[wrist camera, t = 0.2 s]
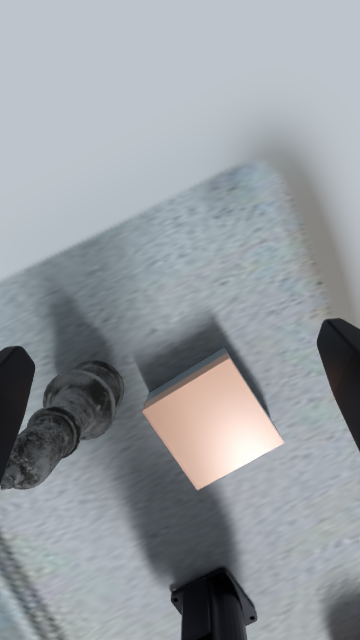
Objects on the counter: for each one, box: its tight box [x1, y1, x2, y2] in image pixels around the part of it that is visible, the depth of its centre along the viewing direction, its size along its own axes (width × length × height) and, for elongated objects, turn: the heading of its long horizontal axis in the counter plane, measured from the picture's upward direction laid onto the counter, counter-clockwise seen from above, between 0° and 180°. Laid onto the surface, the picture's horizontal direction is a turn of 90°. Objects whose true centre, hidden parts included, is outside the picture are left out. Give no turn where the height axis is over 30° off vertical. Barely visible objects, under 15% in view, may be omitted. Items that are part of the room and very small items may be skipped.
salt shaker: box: [0, 361, 124, 490], centre depth 18 cm, size 6×6×12 cm
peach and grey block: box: [142, 347, 284, 490], centre depth 22 cm, size 8×8×4 cm
